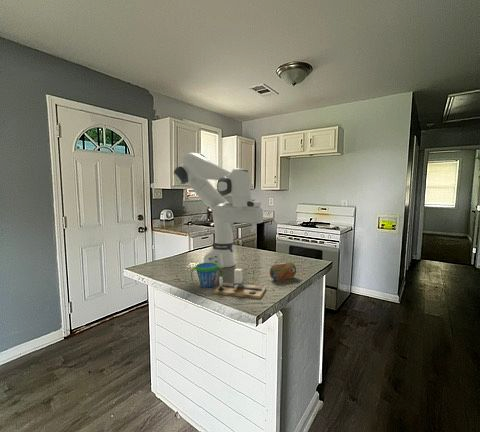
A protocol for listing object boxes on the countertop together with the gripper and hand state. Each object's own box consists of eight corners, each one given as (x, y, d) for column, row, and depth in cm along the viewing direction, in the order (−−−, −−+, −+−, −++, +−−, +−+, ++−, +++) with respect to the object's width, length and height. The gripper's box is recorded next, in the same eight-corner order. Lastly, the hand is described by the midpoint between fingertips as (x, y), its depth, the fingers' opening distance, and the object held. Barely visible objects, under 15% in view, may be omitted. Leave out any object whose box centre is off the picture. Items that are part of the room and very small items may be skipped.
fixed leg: (218, 290, 122) (218, 277, 122) (220, 288, 124) (219, 276, 123) (222, 290, 122) (221, 278, 121) (223, 289, 123) (223, 276, 123)
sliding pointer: (230, 290, 121) (230, 272, 120) (236, 285, 127) (235, 268, 127) (239, 291, 120) (239, 273, 119) (244, 285, 126) (243, 268, 125)
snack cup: (190, 290, 126) (189, 268, 125) (192, 282, 137) (191, 263, 136) (223, 288, 128) (223, 267, 127) (222, 281, 138) (222, 261, 137)
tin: (271, 282, 136) (271, 265, 135) (268, 280, 139) (268, 264, 138) (296, 277, 142) (296, 262, 141) (293, 276, 145) (293, 260, 144)
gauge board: (212, 293, 122) (212, 289, 121) (222, 284, 133) (222, 280, 133) (260, 298, 115) (260, 294, 114) (266, 289, 126) (266, 285, 126)
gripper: (219, 203, 128) (220, 232, 129) (259, 203, 119) (259, 234, 120) (225, 202, 133) (226, 230, 135) (264, 202, 124) (264, 232, 125)
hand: (242, 232), depth 127 cm, fingers open, 8 cm apart
